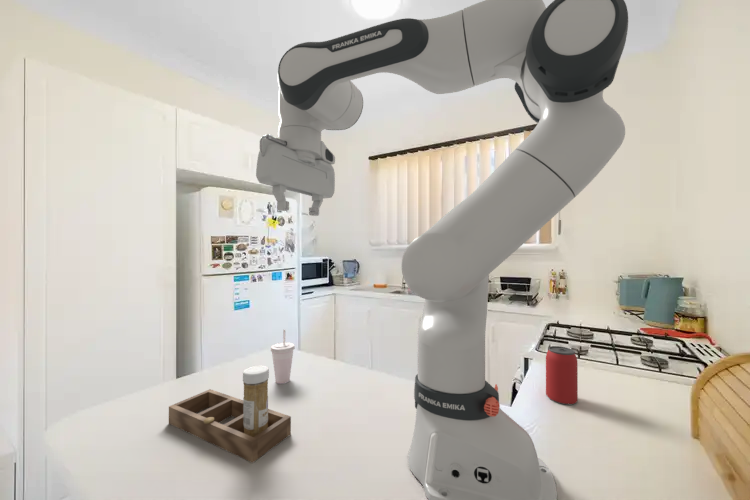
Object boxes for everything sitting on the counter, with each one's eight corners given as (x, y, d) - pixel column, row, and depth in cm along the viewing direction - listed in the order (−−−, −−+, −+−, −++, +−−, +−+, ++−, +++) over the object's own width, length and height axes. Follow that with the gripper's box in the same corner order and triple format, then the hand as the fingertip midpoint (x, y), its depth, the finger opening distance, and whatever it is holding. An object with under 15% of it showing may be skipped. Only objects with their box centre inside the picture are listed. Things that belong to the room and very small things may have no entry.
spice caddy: (290, 434, 59) (290, 414, 59) (250, 464, 51) (250, 441, 51) (209, 404, 71) (210, 387, 71) (166, 424, 62) (166, 405, 62)
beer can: (580, 398, 74) (580, 349, 74) (574, 409, 69) (574, 356, 69) (549, 390, 78) (549, 343, 78) (542, 399, 73) (542, 349, 73)
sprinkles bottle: (271, 442, 56) (271, 370, 56) (245, 451, 54) (245, 375, 54) (265, 430, 60) (265, 362, 60) (240, 438, 58) (240, 367, 58)
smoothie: (299, 379, 84) (299, 329, 85) (281, 388, 79) (281, 334, 79) (283, 374, 88) (284, 326, 88) (265, 382, 82) (265, 330, 83)
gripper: (273, 127, 53) (272, 205, 53) (339, 158, 71) (339, 217, 71) (248, 133, 56) (248, 207, 56) (318, 162, 74) (318, 218, 74)
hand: (299, 213), depth 64 cm, fingers open, 8 cm apart
